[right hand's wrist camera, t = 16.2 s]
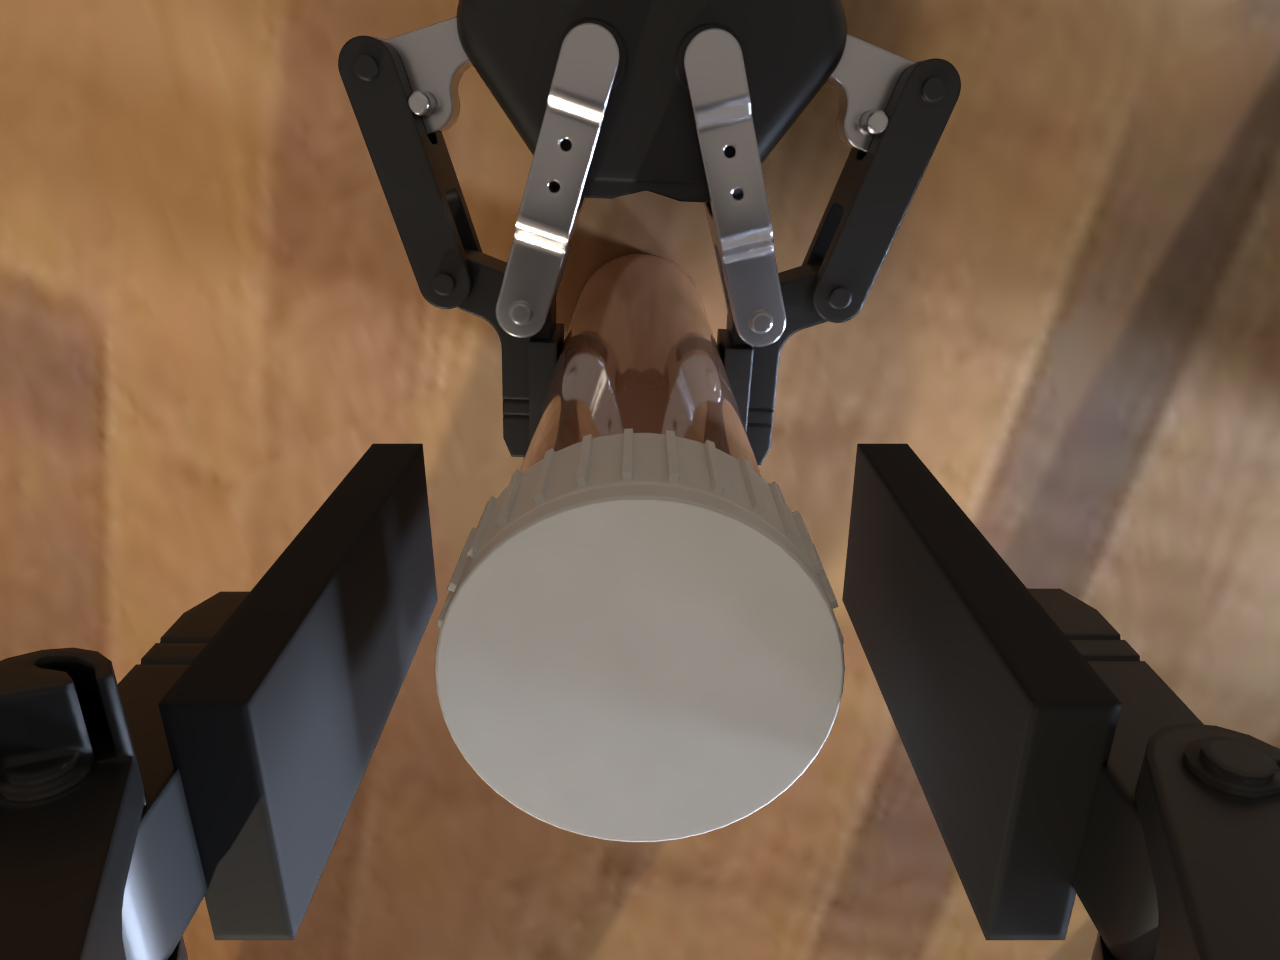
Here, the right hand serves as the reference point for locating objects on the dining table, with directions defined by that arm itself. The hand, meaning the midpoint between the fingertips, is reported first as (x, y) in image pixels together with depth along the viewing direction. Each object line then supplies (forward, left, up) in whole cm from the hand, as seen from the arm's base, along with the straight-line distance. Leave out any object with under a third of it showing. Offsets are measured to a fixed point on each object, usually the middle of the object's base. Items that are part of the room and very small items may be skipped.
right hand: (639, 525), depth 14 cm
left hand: (-1, +2, -9) cm, 10 cm away
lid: (0, 0, +4) cm, 4 cm away
